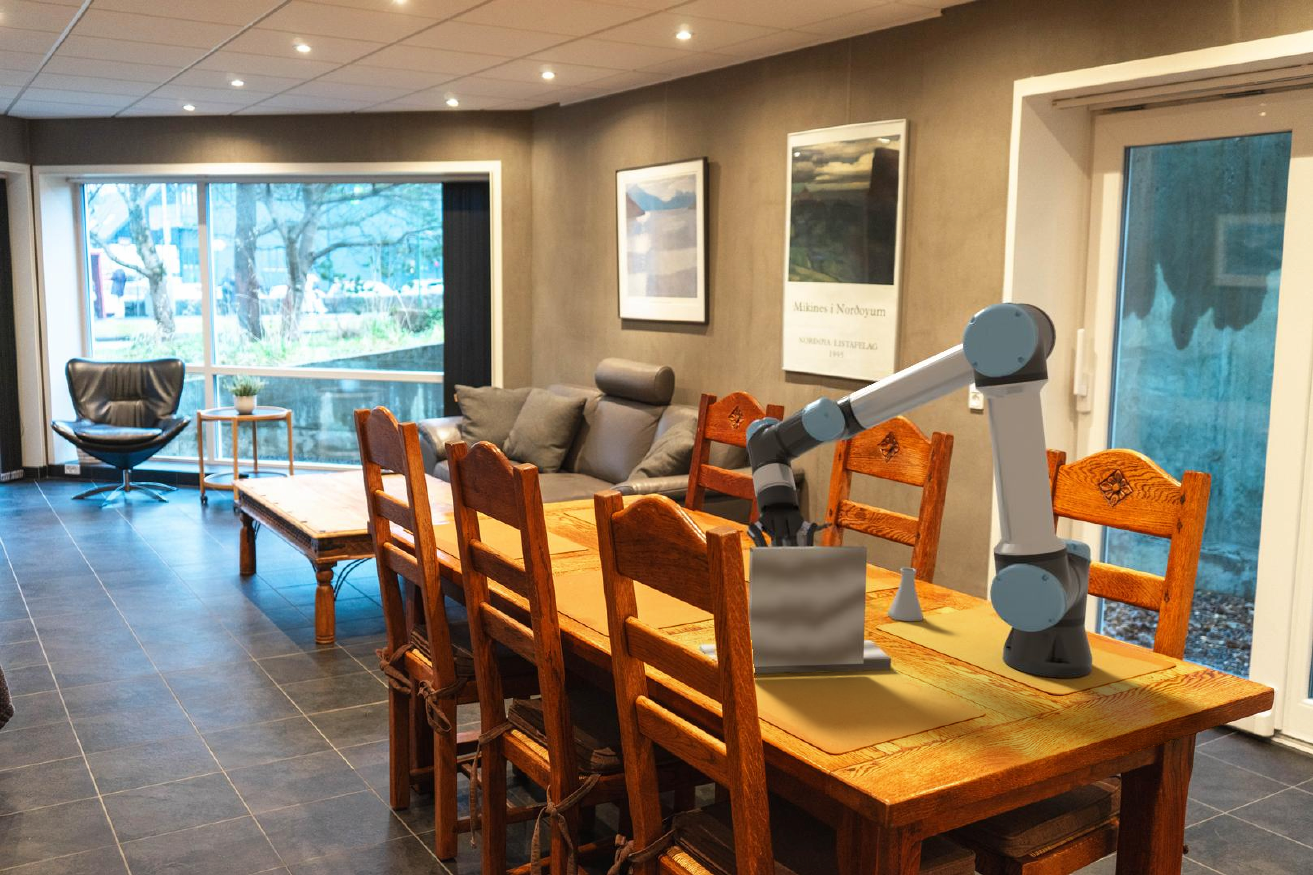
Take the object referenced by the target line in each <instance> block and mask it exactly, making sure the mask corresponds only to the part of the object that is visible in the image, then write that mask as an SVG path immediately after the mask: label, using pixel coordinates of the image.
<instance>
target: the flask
mask: <svg viewBox="0 0 1313 875" xmlns="http://www.w3.org/2000/svg"><path fill="white" fill-rule="evenodd" d="M899 571H900V572H901V573H900V574H901V578H900V582H899V586H898V589H897V591H896V594H895V596H894V599H893V601H892V603H891V605H890V607H889V610H888V613H887V614H886V616H888V617H890V618H891V619H892V620H896V621H905V622H921V621H922V620H923V618H924V614H923V611H922V607H921V605H920V601H919V597H918V593H917V589H916V584H915V577H916V576H915V575H916V573H917V569H915V568H913V567H901V568H900V569H899Z"/></svg>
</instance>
